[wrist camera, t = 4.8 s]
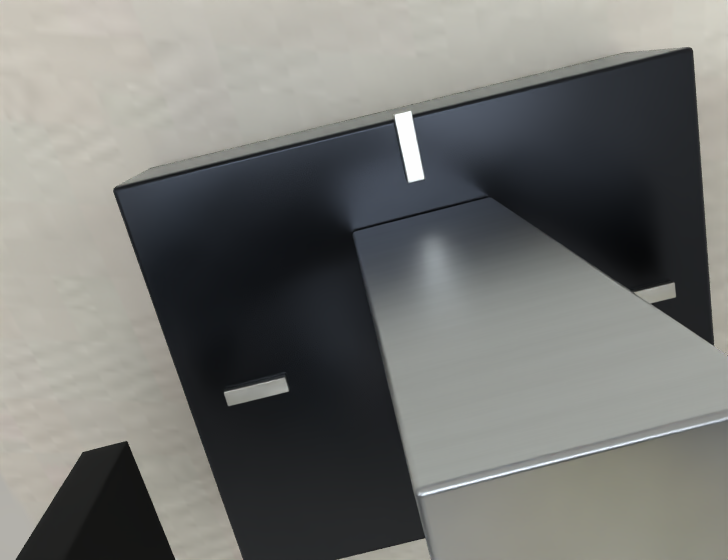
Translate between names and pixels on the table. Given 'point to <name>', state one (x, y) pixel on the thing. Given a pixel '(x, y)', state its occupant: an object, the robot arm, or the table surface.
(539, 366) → the knob
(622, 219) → the panel
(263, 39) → the table surface
